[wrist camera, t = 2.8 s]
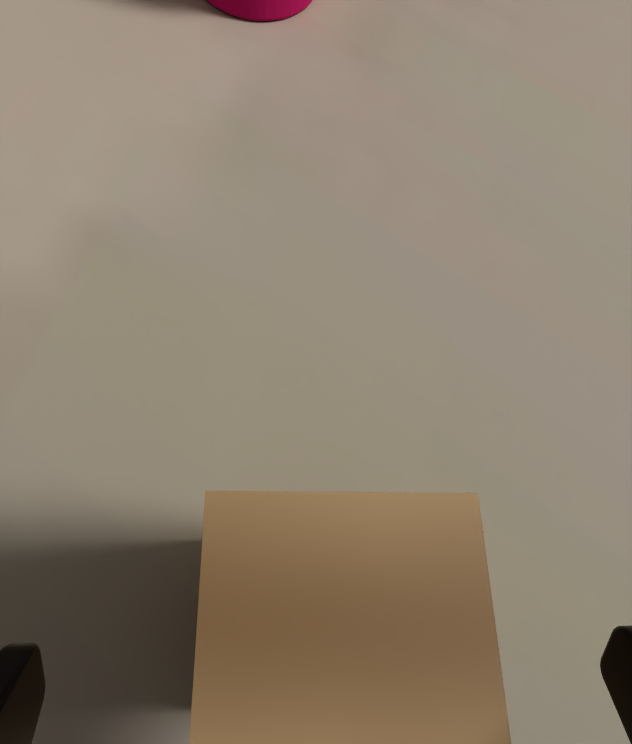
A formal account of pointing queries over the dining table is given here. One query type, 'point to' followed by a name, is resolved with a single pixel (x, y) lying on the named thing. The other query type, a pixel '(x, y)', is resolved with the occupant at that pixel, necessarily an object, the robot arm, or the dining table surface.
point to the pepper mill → (261, 8)
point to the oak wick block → (345, 621)
